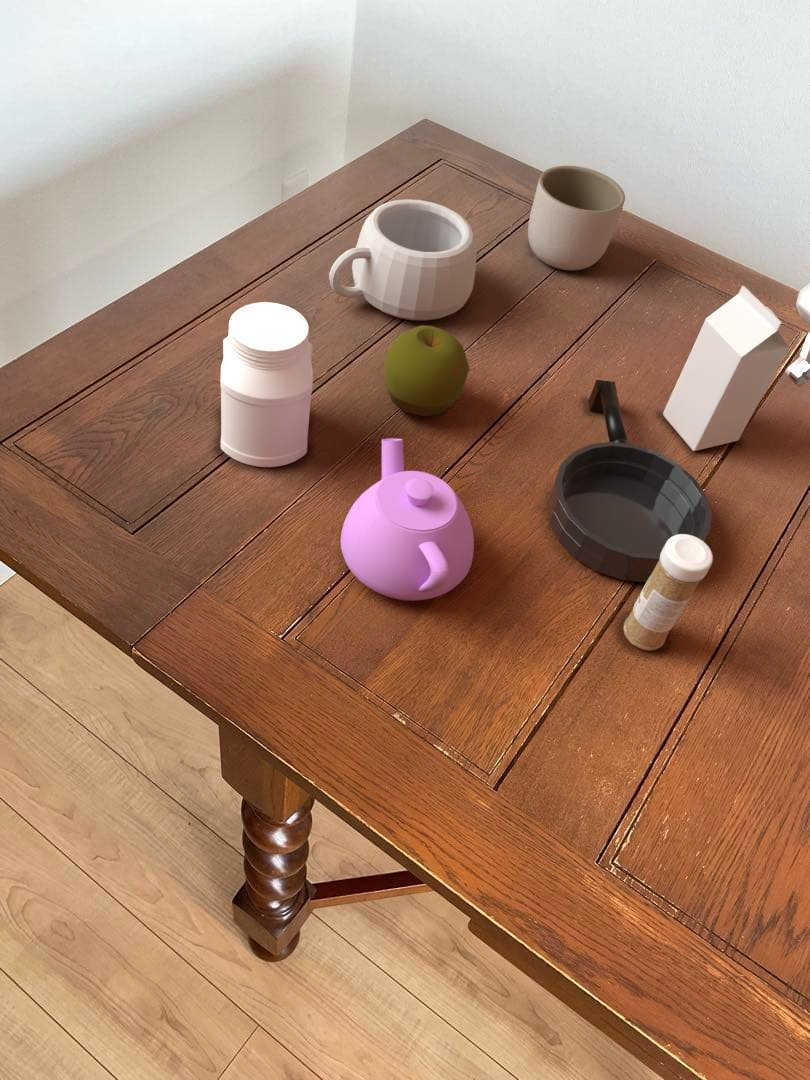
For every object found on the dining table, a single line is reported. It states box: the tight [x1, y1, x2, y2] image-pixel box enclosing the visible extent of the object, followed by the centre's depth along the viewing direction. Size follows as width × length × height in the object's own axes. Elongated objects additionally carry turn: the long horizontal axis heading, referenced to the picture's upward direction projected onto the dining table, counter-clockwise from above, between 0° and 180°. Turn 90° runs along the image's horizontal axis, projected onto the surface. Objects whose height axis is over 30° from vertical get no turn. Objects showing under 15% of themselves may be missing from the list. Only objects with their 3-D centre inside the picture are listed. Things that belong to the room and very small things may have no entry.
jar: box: [219, 301, 314, 468], centre depth 105 cm, size 12×10×15 cm
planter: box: [527, 165, 626, 271], centre depth 141 cm, size 12×12×11 cm
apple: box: [383, 325, 470, 417], centre depth 114 cm, size 10×10×11 cm
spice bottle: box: [623, 534, 714, 652], centre depth 95 cm, size 5×5×13 cm
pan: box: [546, 441, 713, 583], centre depth 108 cm, size 17×17×4 cm
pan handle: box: [588, 379, 629, 444], centre depth 117 cm, size 2×13×5 cm, turn 0°
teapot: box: [340, 438, 475, 602], centre depth 98 cm, size 14×20×11 cm
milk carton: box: [662, 285, 790, 452], centre depth 116 cm, size 7×7×19 cm
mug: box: [328, 198, 477, 322], centre depth 129 cm, size 21×17×10 cm
